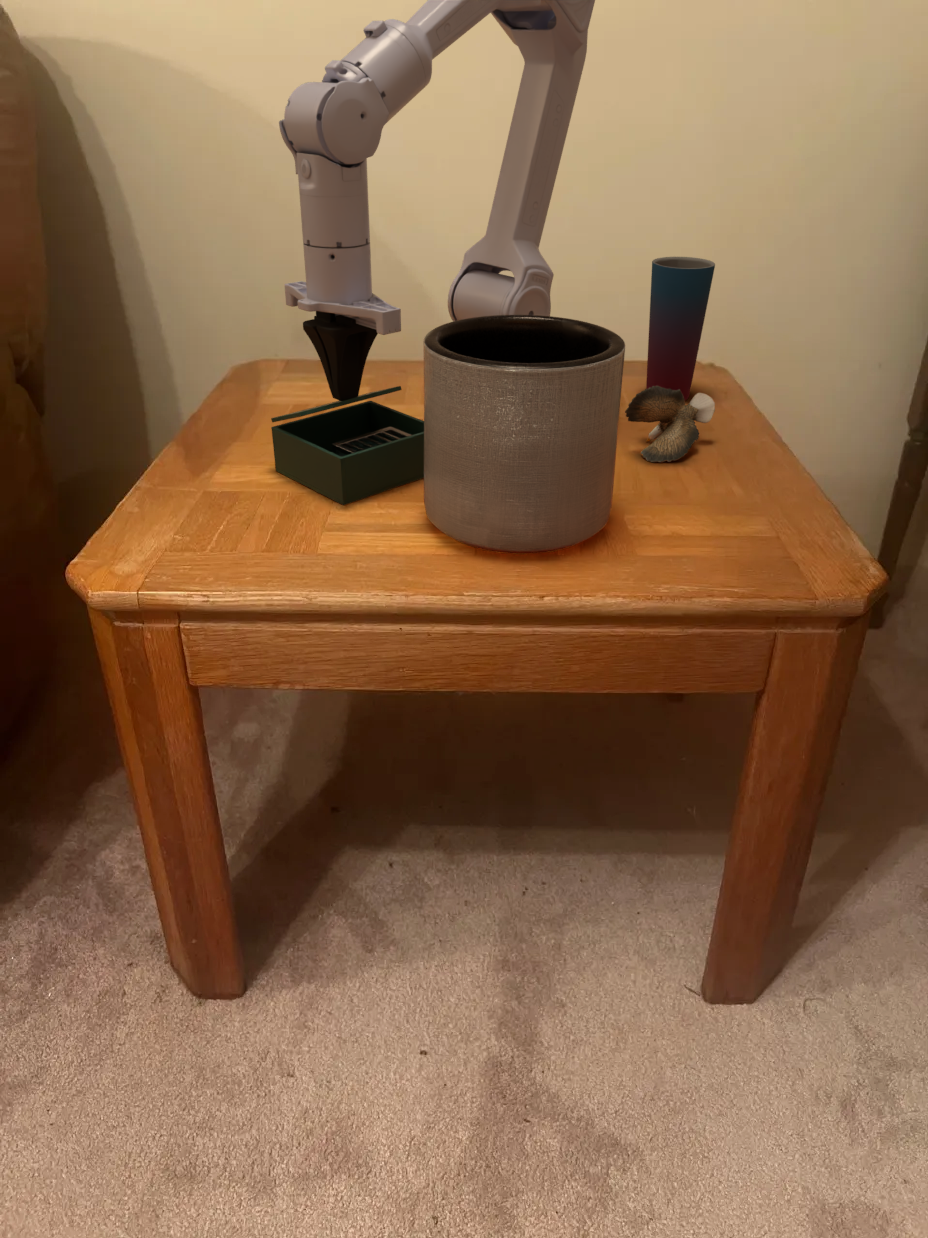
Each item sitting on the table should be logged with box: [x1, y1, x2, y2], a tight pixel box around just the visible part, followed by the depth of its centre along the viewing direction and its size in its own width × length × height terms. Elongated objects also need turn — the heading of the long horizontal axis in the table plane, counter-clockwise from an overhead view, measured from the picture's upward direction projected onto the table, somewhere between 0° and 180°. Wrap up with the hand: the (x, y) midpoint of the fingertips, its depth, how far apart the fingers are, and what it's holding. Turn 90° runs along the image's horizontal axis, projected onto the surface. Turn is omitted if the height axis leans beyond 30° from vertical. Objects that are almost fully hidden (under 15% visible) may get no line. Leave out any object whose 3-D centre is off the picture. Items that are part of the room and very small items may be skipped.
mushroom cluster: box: [624, 386, 716, 463], centre depth 96 cm, size 8×7×9 cm
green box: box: [271, 400, 424, 506], centre depth 90 cm, size 11×12×4 cm
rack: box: [332, 427, 411, 457], centre depth 88 cm, size 7×5×3 cm, turn 133°
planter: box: [422, 315, 626, 555], centre depth 78 cm, size 16×16×16 cm
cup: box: [645, 256, 716, 401], centre depth 108 cm, size 7×7×15 cm
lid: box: [270, 385, 403, 423], centre depth 89 cm, size 5×12×1 cm, turn 133°
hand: (345, 397), depth 88 cm, fingers closed
